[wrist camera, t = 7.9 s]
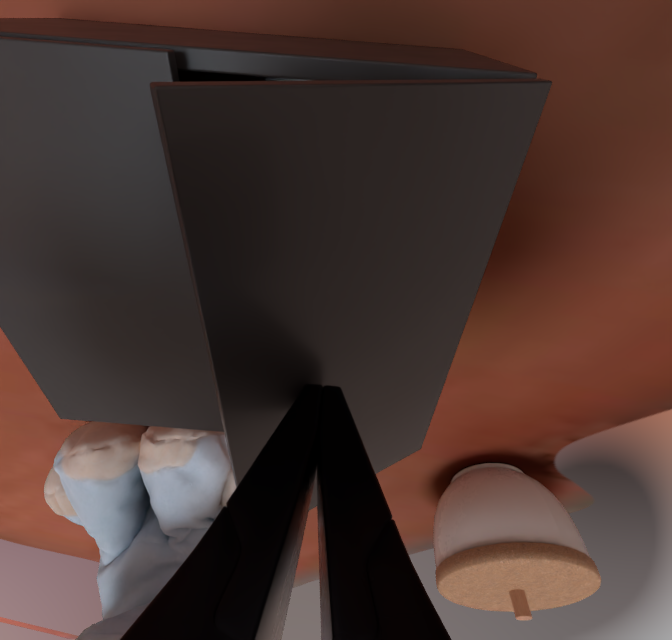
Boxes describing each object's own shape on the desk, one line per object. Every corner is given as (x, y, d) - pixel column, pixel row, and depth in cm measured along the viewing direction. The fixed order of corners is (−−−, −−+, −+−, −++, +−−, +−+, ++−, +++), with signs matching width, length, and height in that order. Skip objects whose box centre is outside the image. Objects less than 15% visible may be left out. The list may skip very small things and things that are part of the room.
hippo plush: (325, 440, 30) (291, 836, 15) (234, 539, 43) (169, 802, 28) (81, 354, 25) (-296, 807, 11) (62, 494, 38) (-118, 782, 24)
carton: (464, 49, 14) (553, 77, 7) (403, 322, 22) (420, 449, 15) (57, 18, 14) (-207, 18, 7) (147, 302, 22) (58, 419, 15)
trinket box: (401, 495, 34) (412, 624, 27) (469, 432, 28) (507, 579, 21) (501, 519, 36) (536, 646, 29) (585, 466, 30) (657, 612, 23)
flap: (538, 78, 8) (554, 81, 7) (415, 442, 16) (421, 449, 15) (147, 81, 4) (152, 86, 4) (245, 533, 12) (249, 543, 12)
